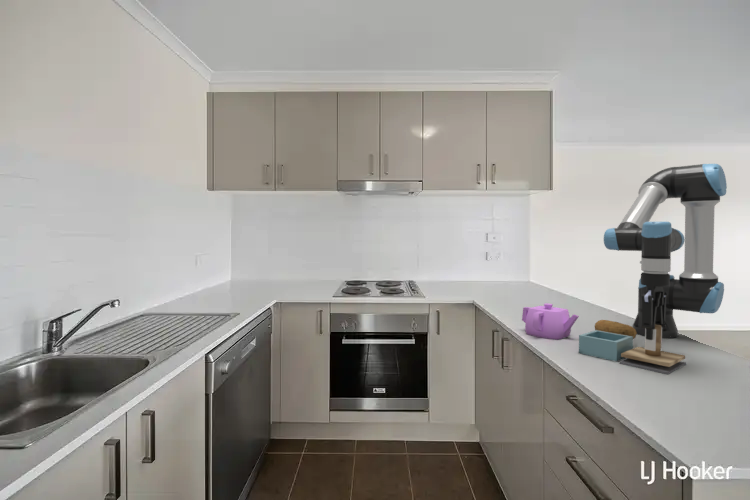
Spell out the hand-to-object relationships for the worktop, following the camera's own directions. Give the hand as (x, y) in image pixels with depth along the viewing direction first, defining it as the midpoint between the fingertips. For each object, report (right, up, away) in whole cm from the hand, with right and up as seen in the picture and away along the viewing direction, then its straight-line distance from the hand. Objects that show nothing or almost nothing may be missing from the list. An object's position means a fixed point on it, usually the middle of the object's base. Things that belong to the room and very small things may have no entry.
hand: (653, 348), depth 134 cm
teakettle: (-17, -3, +38) cm, 42 cm away
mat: (0, -5, 0) cm, 5 cm away
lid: (0, -3, 0) cm, 3 cm away
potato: (+2, -4, +25) cm, 25 cm away
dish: (-9, -4, +11) cm, 15 cm away
